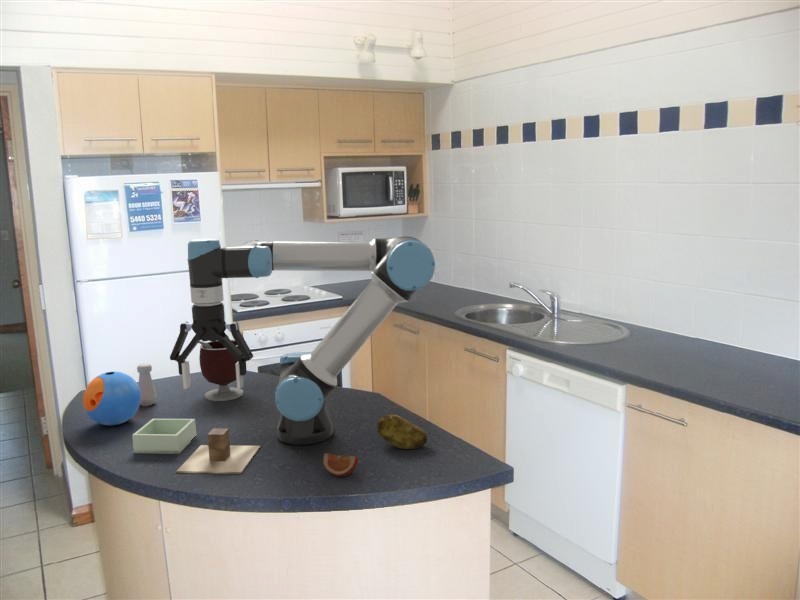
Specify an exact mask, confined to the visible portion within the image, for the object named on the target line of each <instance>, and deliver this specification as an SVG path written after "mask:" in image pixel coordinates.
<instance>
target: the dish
mask: <svg viewBox="0 0 800 600" xmlns="http://www.w3.org/2000/svg"><path fill="white" fill-rule="evenodd" d="M196 426H197V423H196V419H195V418H152V419H150V420H149V421H148V422H146V424H144V425H143V426H142V427H141V428H139V429H138V430H137V431H136V432H134V433H133V434H132V435H131V436H132V448H133V454H148V455H150V454H152V455H153V454H158V455H159V454H161V455H180V454H181V452H183V451H184V449H185V448H186V447H187V446H188V445H189V444H190V443H191V442H192V441H193V440H194V439H195V438H196V437H197V427H196ZM195 436H196V437H195ZM194 437H195V438H194ZM193 438H194V439H193ZM192 439H193V440H192ZM191 440H192V441H191Z"/></svg>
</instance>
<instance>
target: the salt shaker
mask: <svg viewBox="0 0 800 600" xmlns="http://www.w3.org/2000/svg"><path fill="white" fill-rule="evenodd" d="M136 370H137V373H139V374H138V383H137V384H138V386H139V388H140V392H141V402H140V405H141V406H142V407H150V406H149V405H151V406H152V404H155V402H156V400H157V398H158V395H157V391H156V388H155V385H154V382H153V379H152V375H151V372H152V370H153V368H152V365H151V364H150V363H141V364H139V365H137V367H136Z"/></svg>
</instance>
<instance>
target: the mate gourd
mask: <svg viewBox="0 0 800 600" xmlns="http://www.w3.org/2000/svg"><path fill="white" fill-rule="evenodd" d="M230 340H231V341H232V342H233V343H234V345H235V346H236V347H237V348H238V349H239V350H240V348H239V347H238V345H237V343H236V341H235V340H234V339H230ZM198 344H200V346H199V347H200V350H199V357H198V358H199V359H198V360H199V367H200V372H201V375H202V376H203V378H204V379H205V380H206V381H207V382H208V383H210V384H214V385H217V386H219V387H218V388H214V389H211V390H208V391H207V392H206V393H205V394H204V398H205V399H206V400H208V401H210V402H212V401H213V402H225V401H231V400H236V399H239V398H241V397H242V396H243V395H244V390H243V389H242V388H241V389H240V390H237V387H233V386H232V387H229V384H232V383H234V382H237V379H236V363H237V362H238V361H237V360H236V359H235V358H234V356H233V355H232V354H231V353H230V352H229V351H228V350H227V349H226V348H225V347H224V345H223V344H221V343H220V342H219V341H218V340H217V341H215V342H212V341H202V340H200V341H199V342H198ZM240 351H241V350H240ZM240 396H241V397H240Z"/></svg>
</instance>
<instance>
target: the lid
mask: <svg viewBox="0 0 800 600" xmlns="http://www.w3.org/2000/svg"><path fill="white" fill-rule="evenodd" d="M259 448H260V449H261V445H237V444H236V445H233V444H232V445H231V443H230V430H229V428H212V429H211V430H210V431H209V432H208V433H207V444H201V445H200V446H198V448H196V450H195V451H194V452H193V453H192V454H191V455H190V456H189V457H188V458H187V459H186V460H185V461H184V463H182V464H181V466H179V468H178V469H177V470H176V471H175V472H176V474H177V473H178V474H218V475H219V474H220V473H221V474H224V475H225V474H226V475H227V474H228V475H232V474H233V475H235V474H237V475H242V474H243V472H244V470H245V469H247V468H248V465H249V464H250V463H249V462H251V461H252V460H253V458H254V457H255V456H256V454H257V453H258V452H259V450H260V449H259ZM254 455H255V456H254ZM253 456H254V457H253ZM251 459H252V460H251ZM241 473H242V474H241Z"/></svg>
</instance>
